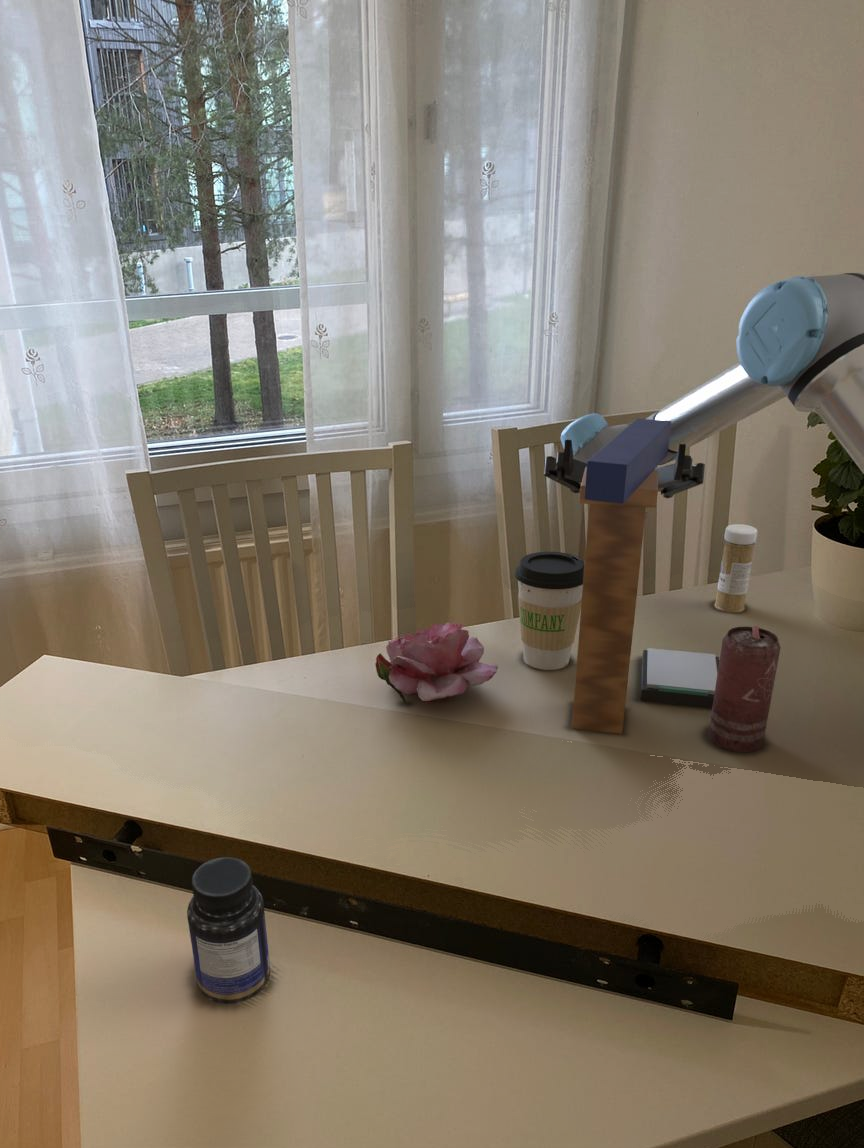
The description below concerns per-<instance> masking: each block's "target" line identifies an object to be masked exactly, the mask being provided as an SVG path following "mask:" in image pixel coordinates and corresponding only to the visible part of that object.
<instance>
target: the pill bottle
mask: <svg viewBox="0 0 864 1148" xmlns="http://www.w3.org/2000/svg"><path fill="white" fill-rule="evenodd" d="M253 884H254V881H253V875H252V870H251V868H250V866H249V865H248V864H247V863H246V862H245V861H244V860H242V859H240V858H236V857H231V856H229V857H228V856H227V857H226V856H223V857H217V858H213V859H210V860H208V861H206V862H204V863H203V864H201V865H200V866H199V867H197V869H195V871H194V873H193V874H192V876H191V888H192V895H193V896H191V898H190V901H189V902H188V906H187V910H186V913H187V914H186V916H187V923H188V931H189V937H190V942H191V951H192V957H193V964H194V971H195V977H196V981H197V985H198V988H199V991H200V993H201V994H202V995H203V996H204V997H205V998H207V999H208V1000H209V1001H212V1002H214V1003H218V1004H224V1005H228V1004H237V1003H241V1002H244V1001H247V1000H250V999H252V998H253V997H255V996H256V995H258V994H259V993H260V992H261V991H262V990H263V989H264V988H265V986H266V984H267V983H268V981H269V980H270V975H271V963H270V953H269V952H270V951H269V943H268V942H269V941H268V933H267V924H266V923H267V922H266V914H265V901H264V898H263V895H262V893H261V892H260V890H259V889H258V888H257V887H256V886H255V885H253Z"/></svg>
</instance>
